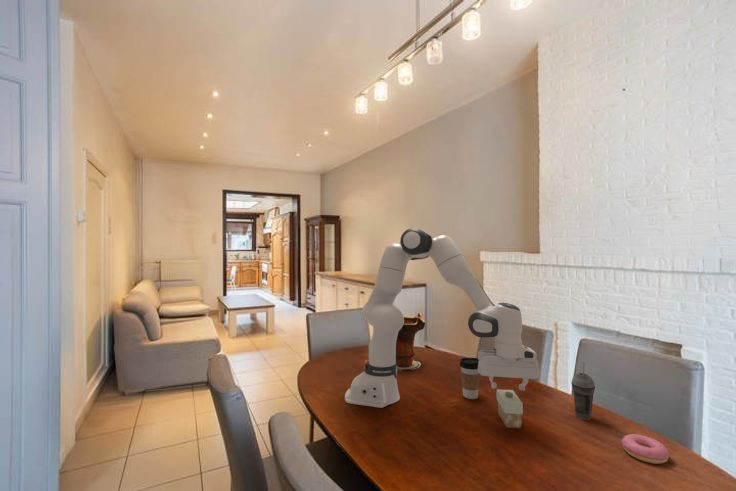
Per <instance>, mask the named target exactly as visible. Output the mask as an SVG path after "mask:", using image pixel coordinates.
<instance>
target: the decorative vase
mask: <svg viewBox="0 0 736 491" xmlns="http://www.w3.org/2000/svg"><path fill="white" fill-rule="evenodd" d="M403 316H404V315H403ZM425 326H426V321H425V320H424V317H423V314H422V313H421V312H418V313H417V314H416V316H408V315H407V316H404V324H403V326H402V328H401V329H400V330H399V332H398V336H397V340H396V363H397V371H402V370H406V371H409V370H416V369H420V367H421V364H422V363H421V362H419V361H417V360H415V359H414V357H415V354H416V353H415V348H414V346H415V337H416V334H418V332H420V331H422V330H424V328H425Z"/></svg>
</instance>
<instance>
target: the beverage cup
mask: <svg viewBox="0 0 736 491" xmlns="http://www.w3.org/2000/svg"><path fill="white" fill-rule="evenodd" d="M585 364H586V363H585V362H582V372H581V373H579V372H578V373H576V374H575V375H574V376H572V379H571V382H570V383H571V388H572V392H573V402H574V403H573V404H574V410H575V416H576V418H578V419H580V420H582V421H591V420H590V419H592V413H593V412H592V411H593V402H594V401H593V400H594V393H595V390H596V386H595V382H594V380H593V378H592V377H591V376H590V375H589V374H586V373H585Z"/></svg>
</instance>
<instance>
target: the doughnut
mask: <svg viewBox="0 0 736 491" xmlns="http://www.w3.org/2000/svg"><path fill="white" fill-rule="evenodd" d="M621 444H622V448H623V450H624V451H625V452H626V453H628V455H630V456H631V457H632V458H634V459H637V460H639V461H641V462H645V463H648V464H655V465H659V464H660V465H661V464H665V463H667V462H668V460H669V457H670V453H669V451H668V449H667V448H666V446H665V445H664V444H663V443H662V442H660V441H658V440H656V439H654V438H652V437H649V436H646V435H642V434H638V433H634V434H633V433H631V434H630V433H629V434H626V435H624V436H623V437H622V439H621Z"/></svg>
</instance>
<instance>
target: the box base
mask: <svg viewBox="0 0 736 491" xmlns="http://www.w3.org/2000/svg"><path fill="white" fill-rule="evenodd" d="M497 406H498V408H497V413H498V415H499V418H500V419H501V421H502V423H503V425H504V426H505V428H508V429H509V428H510V429H521V428H522V414H509V413H505V412H504V411H503V409H502V407H501V406H500V404H499V402H498V401H497Z"/></svg>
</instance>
